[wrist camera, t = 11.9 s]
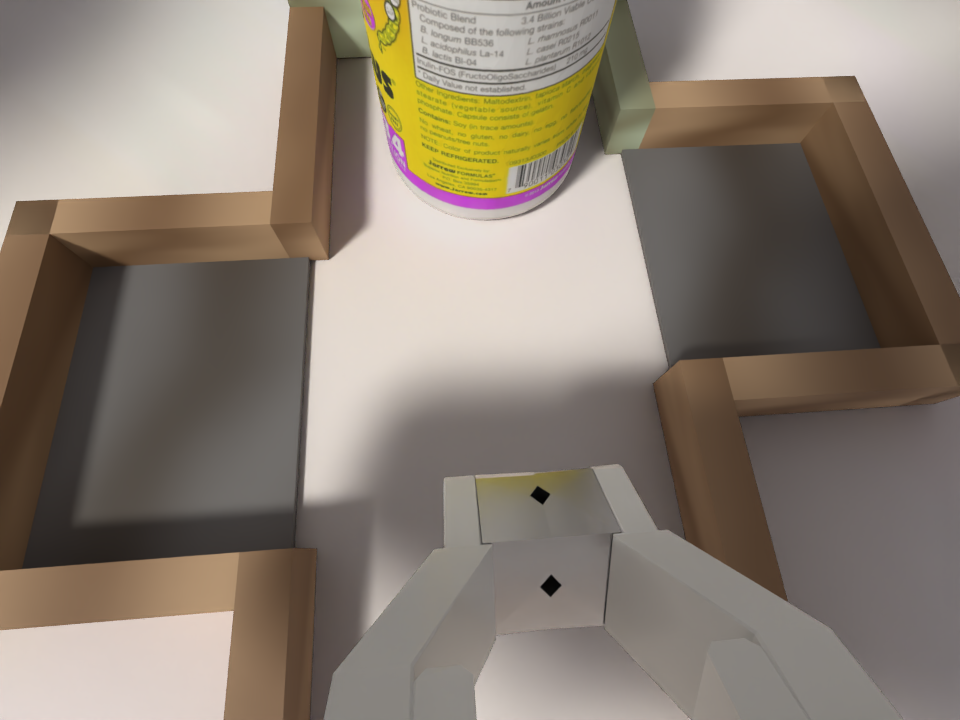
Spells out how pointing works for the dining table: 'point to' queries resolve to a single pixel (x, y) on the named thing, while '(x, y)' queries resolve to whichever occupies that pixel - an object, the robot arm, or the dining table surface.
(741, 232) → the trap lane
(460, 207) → the supplement bottle
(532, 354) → the dining table surface
